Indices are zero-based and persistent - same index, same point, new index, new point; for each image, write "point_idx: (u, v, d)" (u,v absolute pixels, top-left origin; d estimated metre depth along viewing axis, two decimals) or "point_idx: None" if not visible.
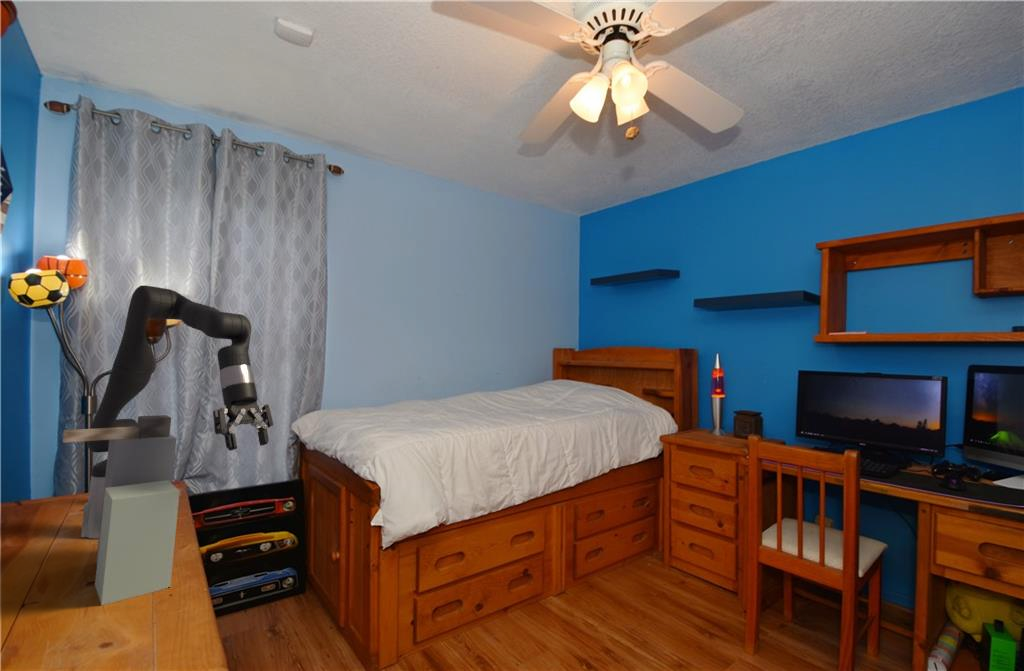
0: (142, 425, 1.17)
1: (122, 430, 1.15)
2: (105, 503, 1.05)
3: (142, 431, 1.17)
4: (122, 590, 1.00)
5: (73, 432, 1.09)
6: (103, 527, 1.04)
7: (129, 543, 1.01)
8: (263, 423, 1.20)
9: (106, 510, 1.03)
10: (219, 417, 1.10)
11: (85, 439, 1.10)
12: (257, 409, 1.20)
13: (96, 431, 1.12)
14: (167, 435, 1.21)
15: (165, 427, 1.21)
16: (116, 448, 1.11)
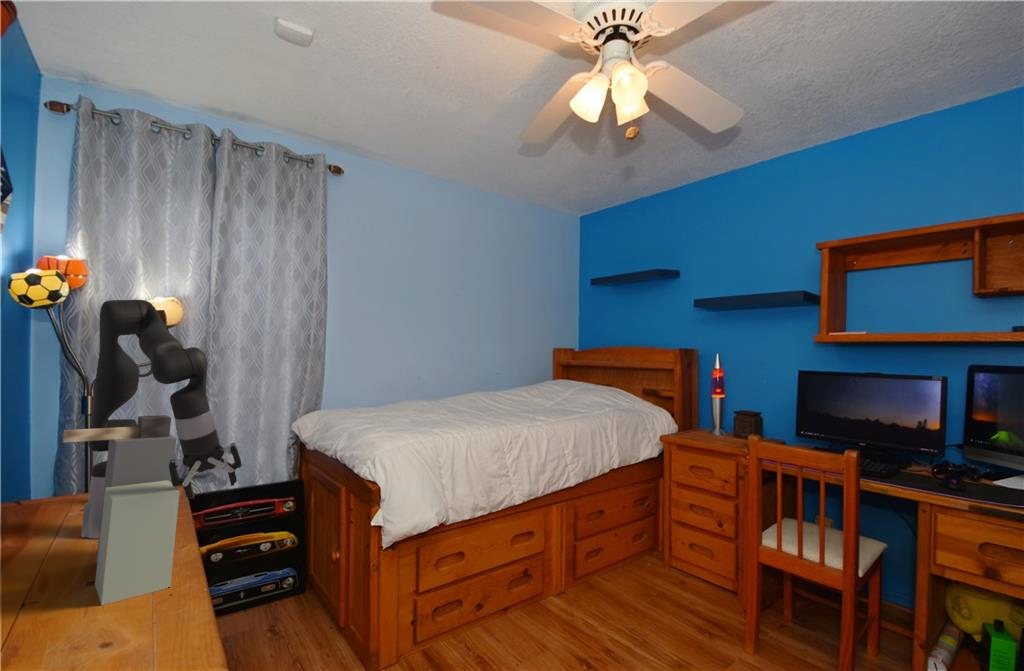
0: (142, 425, 1.17)
1: (122, 430, 1.15)
2: (105, 503, 1.05)
3: (142, 431, 1.17)
4: (122, 590, 1.00)
5: (73, 432, 1.09)
6: (103, 527, 1.04)
7: (129, 543, 1.01)
8: (228, 467, 1.13)
9: (106, 510, 1.03)
10: (170, 473, 1.07)
11: (85, 439, 1.10)
12: (220, 454, 1.12)
13: (96, 431, 1.12)
14: (167, 435, 1.21)
15: (165, 427, 1.21)
16: (116, 448, 1.11)
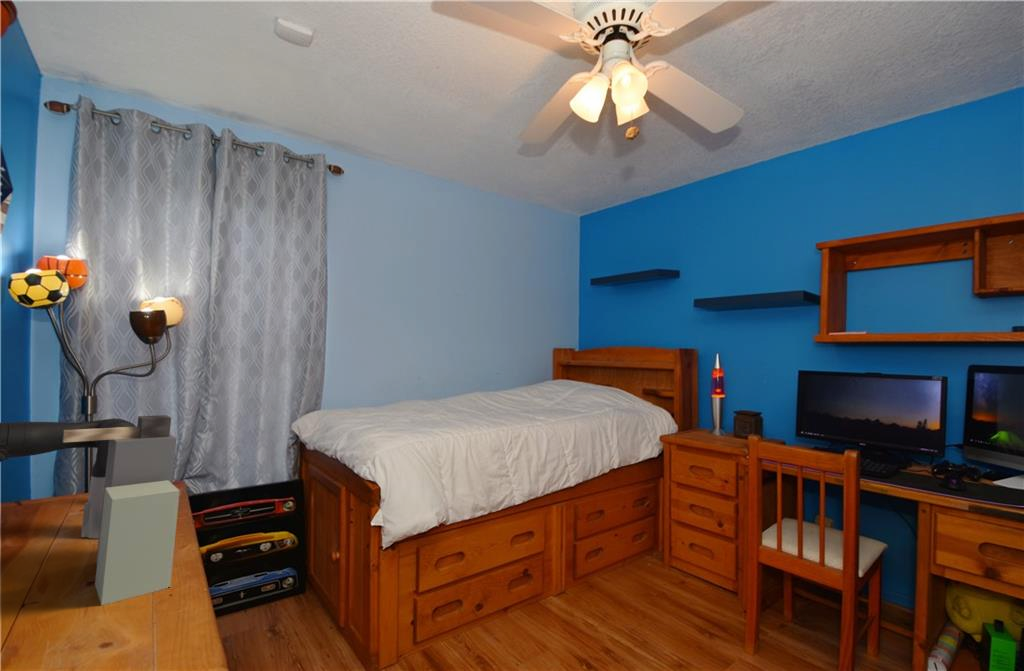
0: (142, 425, 1.17)
1: (122, 430, 1.15)
2: (105, 503, 1.05)
3: (142, 431, 1.17)
4: (122, 590, 1.00)
5: (73, 432, 1.09)
6: (103, 527, 1.04)
7: (129, 543, 1.01)
8: None
9: (106, 510, 1.03)
10: None
11: (85, 439, 1.10)
12: None
13: (96, 431, 1.12)
14: (167, 435, 1.21)
15: (165, 427, 1.21)
16: (116, 448, 1.11)
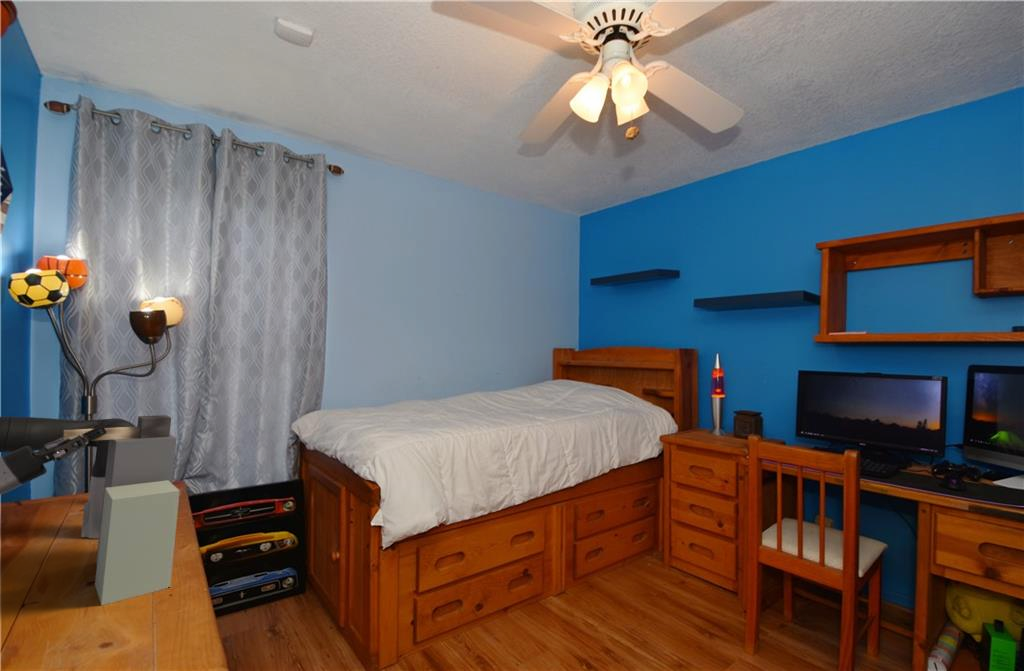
0: (142, 425, 1.17)
1: (122, 430, 1.15)
2: (105, 503, 1.05)
3: (142, 431, 1.17)
4: (122, 590, 1.00)
5: (73, 432, 1.09)
6: (103, 527, 1.04)
7: (129, 543, 1.01)
8: None
9: (106, 510, 1.03)
10: None
11: None
12: (54, 458, 1.05)
13: None
14: (167, 435, 1.21)
15: (165, 427, 1.21)
16: (116, 448, 1.11)
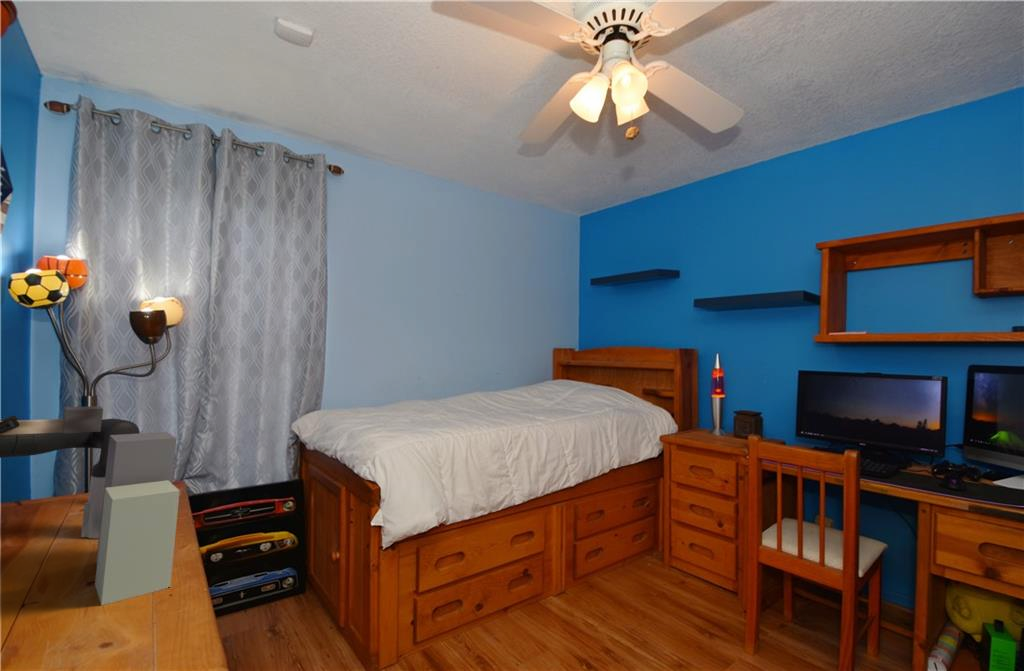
0: (65, 417, 0.98)
1: (40, 423, 0.97)
2: (105, 503, 1.05)
3: (65, 424, 0.98)
4: (122, 590, 1.00)
5: None
6: (103, 527, 1.04)
7: (129, 543, 1.01)
8: None
9: (106, 510, 1.03)
10: None
11: None
12: None
13: None
14: (98, 430, 1.02)
15: (95, 420, 1.02)
16: (116, 448, 1.11)
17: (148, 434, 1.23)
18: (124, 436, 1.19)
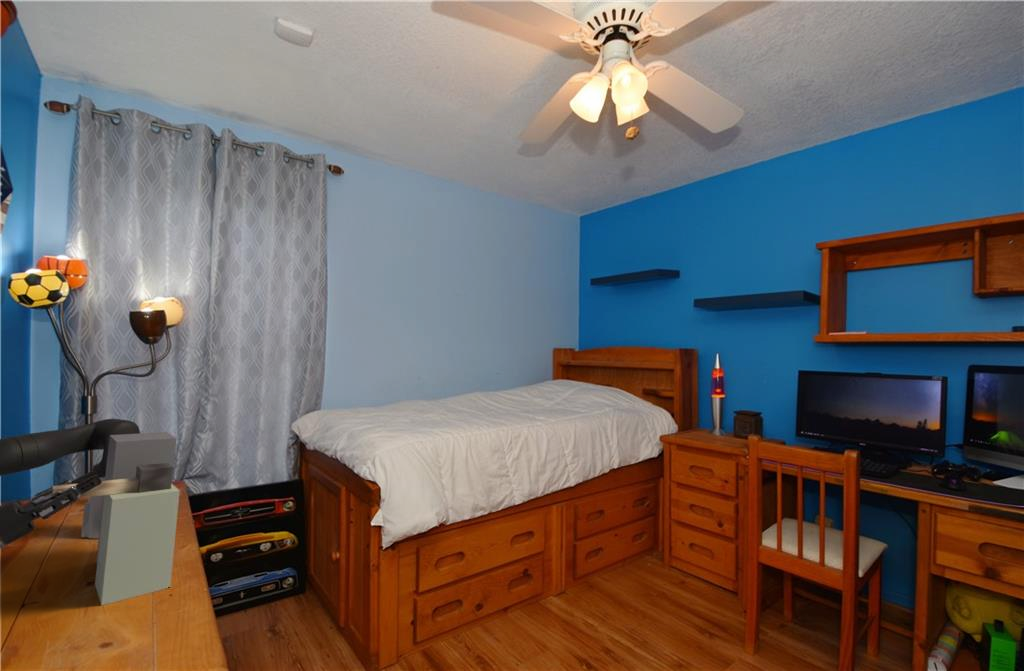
0: (141, 477, 1.05)
1: (118, 484, 1.03)
2: (105, 503, 1.05)
3: (140, 484, 1.05)
4: (122, 590, 1.00)
5: (63, 489, 0.97)
6: (103, 527, 1.04)
7: (129, 543, 1.01)
8: None
9: (106, 510, 1.03)
10: None
11: None
12: None
13: None
14: (168, 487, 1.09)
15: (167, 478, 1.08)
16: (116, 448, 1.11)
17: (148, 434, 1.23)
18: (124, 436, 1.19)
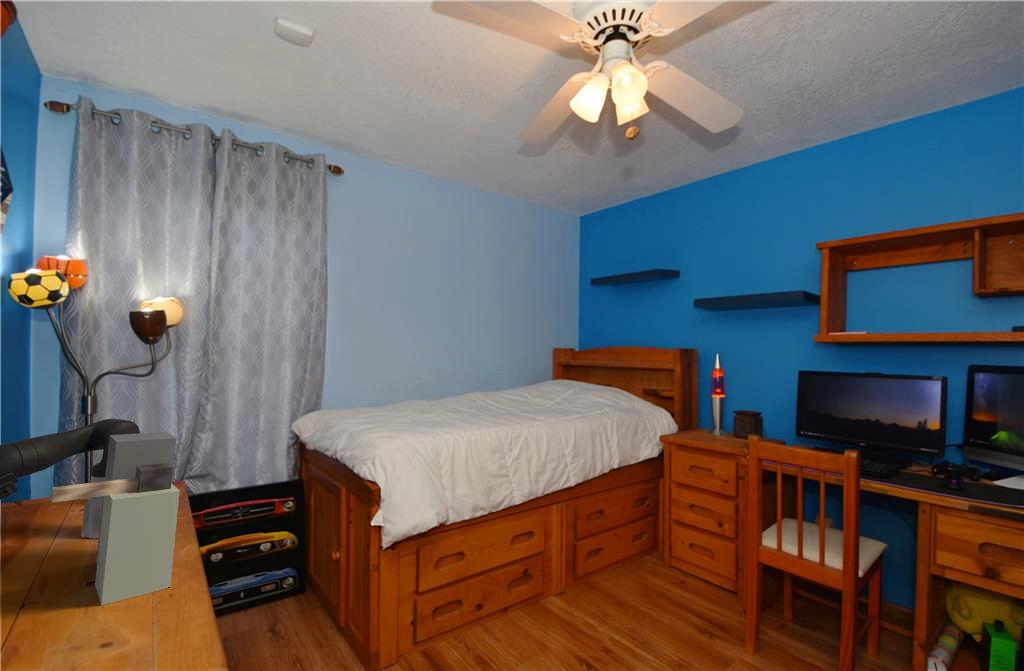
0: (141, 478, 1.05)
1: (118, 484, 1.03)
2: (105, 503, 1.05)
3: (140, 484, 1.05)
4: (122, 590, 1.00)
5: (63, 490, 0.97)
6: (103, 527, 1.04)
7: (129, 543, 1.01)
8: None
9: (106, 510, 1.03)
10: None
11: (76, 497, 0.98)
12: None
13: (89, 487, 1.00)
14: (168, 487, 1.09)
15: (166, 478, 1.08)
16: (116, 448, 1.11)
17: (148, 434, 1.23)
18: (124, 436, 1.19)
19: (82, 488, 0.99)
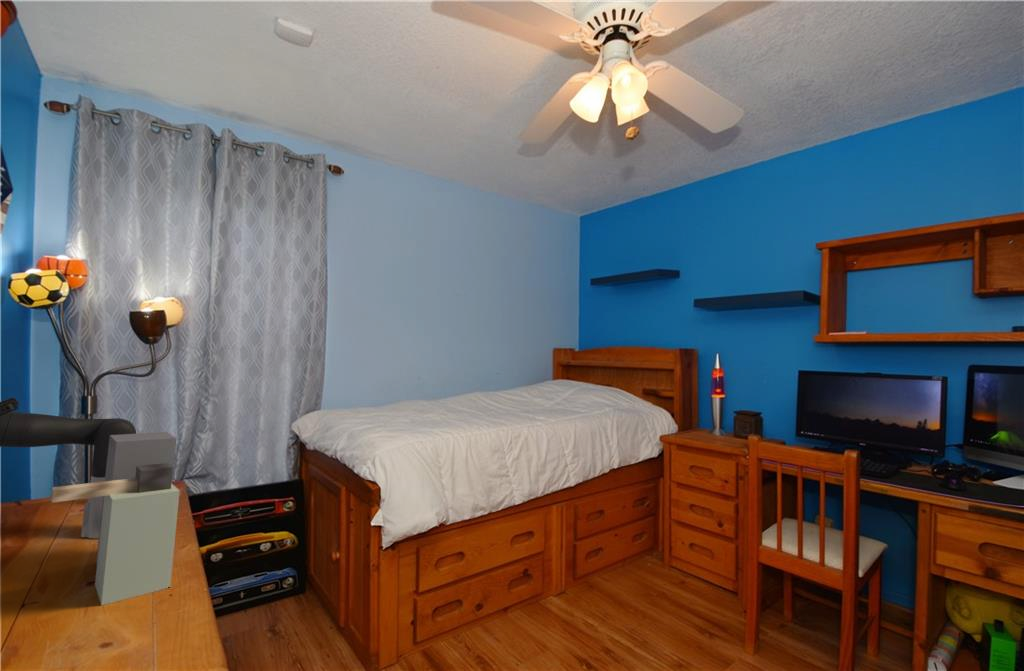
0: (141, 478, 1.05)
1: (118, 484, 1.03)
2: (105, 503, 1.05)
3: (140, 484, 1.05)
4: (122, 590, 1.00)
5: (63, 490, 0.97)
6: (103, 527, 1.04)
7: (129, 543, 1.01)
8: None
9: (106, 510, 1.03)
10: None
11: (76, 497, 0.98)
12: None
13: (89, 487, 1.00)
14: (168, 487, 1.09)
15: (166, 478, 1.08)
16: (116, 448, 1.11)
17: (148, 434, 1.23)
18: (124, 436, 1.19)
19: (82, 488, 0.99)
